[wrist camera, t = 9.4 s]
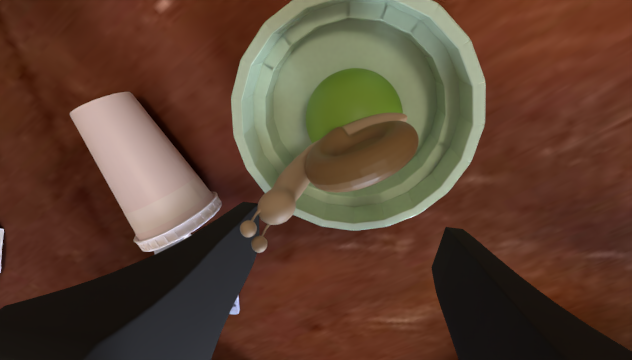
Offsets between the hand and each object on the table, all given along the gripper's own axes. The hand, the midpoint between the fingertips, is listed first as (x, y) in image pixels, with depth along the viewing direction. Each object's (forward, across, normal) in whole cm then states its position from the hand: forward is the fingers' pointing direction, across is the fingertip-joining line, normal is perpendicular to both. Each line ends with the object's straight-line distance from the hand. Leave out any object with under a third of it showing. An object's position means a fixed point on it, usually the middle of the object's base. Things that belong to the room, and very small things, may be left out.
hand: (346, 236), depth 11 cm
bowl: (+10, 0, -2) cm, 11 cm away
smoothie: (+8, +16, -2) cm, 18 cm away
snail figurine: (+10, 0, -2) cm, 10 cm away
